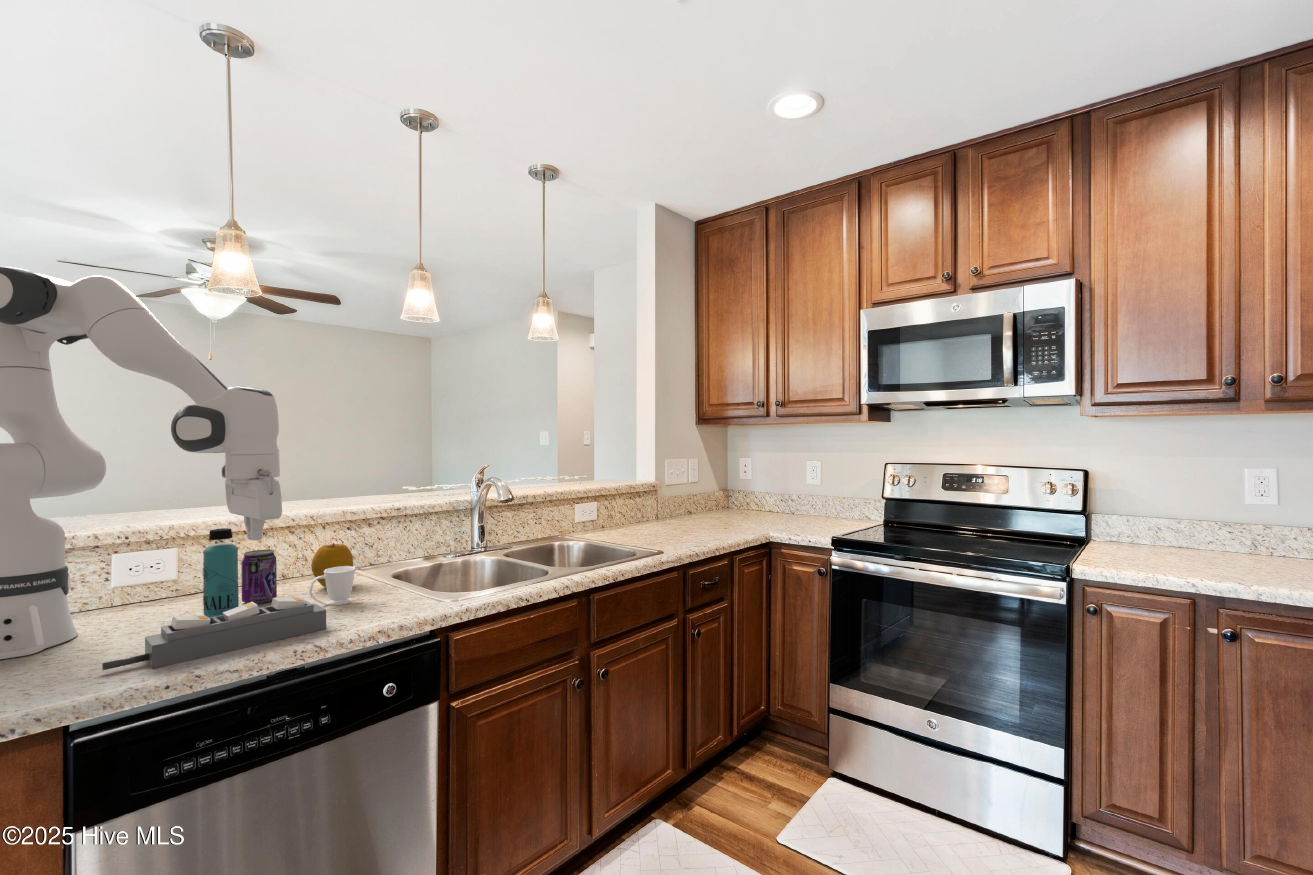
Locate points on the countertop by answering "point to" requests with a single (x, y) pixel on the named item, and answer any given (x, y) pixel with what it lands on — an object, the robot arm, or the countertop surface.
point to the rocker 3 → (287, 603)
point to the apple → (330, 559)
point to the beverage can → (259, 576)
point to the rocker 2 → (241, 611)
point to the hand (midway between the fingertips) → (254, 539)
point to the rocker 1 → (189, 621)
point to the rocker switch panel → (226, 635)
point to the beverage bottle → (220, 574)
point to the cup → (337, 584)
